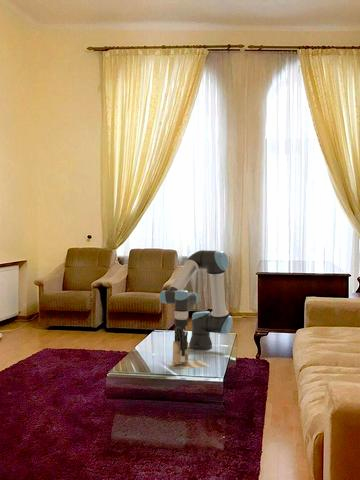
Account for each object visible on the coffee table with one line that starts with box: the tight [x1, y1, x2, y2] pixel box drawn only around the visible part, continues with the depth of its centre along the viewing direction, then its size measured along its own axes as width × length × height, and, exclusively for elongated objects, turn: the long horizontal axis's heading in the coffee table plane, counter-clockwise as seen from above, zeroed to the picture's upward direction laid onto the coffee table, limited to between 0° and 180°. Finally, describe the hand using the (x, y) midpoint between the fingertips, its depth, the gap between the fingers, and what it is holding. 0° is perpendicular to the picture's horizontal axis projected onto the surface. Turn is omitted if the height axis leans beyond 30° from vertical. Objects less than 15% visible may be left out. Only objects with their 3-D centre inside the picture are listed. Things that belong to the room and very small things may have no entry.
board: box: [166, 359, 211, 370], centre depth 303 cm, size 20×16×1 cm
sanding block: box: [172, 341, 189, 365], centre depth 301 cm, size 7×5×12 cm
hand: (180, 360), depth 302 cm, fingers closed on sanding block, 5 cm apart
